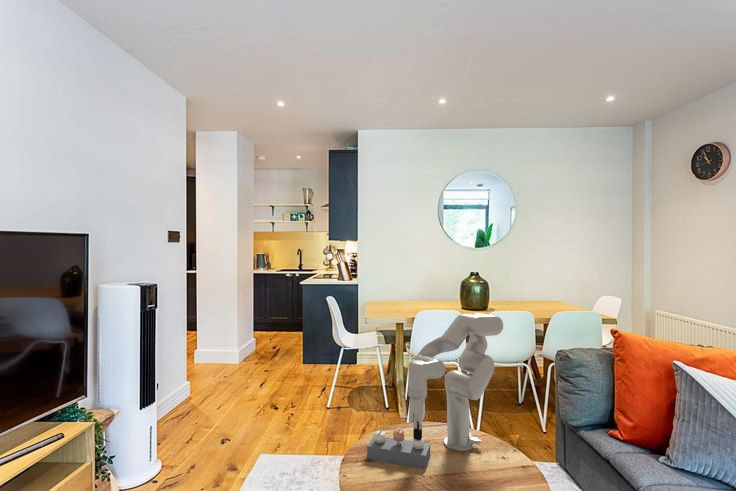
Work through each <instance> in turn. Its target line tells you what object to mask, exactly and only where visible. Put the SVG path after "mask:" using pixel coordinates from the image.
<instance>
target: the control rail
mask: <svg viewBox="0 0 736 491" xmlns="http://www.w3.org/2000/svg"><path fill="white" fill-rule="evenodd" d="M366 453H367V454H366V459H367V460H374V461H380V462H383V463H384V462H385V463H391V464H397V465H401V466H409V467H413V468H418V469H424V470H425V469H427V467H428V464H429V461H430V458H431V443H427V442H424V448H423V449H415V448H413V440H407V439H404V440H403V441H400V446H397V441H395V440H394V439H393V437H388V436H385V442H384V443H376V442H375V434H374V435H373V436H372V439H371V440H370V441H369V442H368V444H367V445H366Z"/></svg>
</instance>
